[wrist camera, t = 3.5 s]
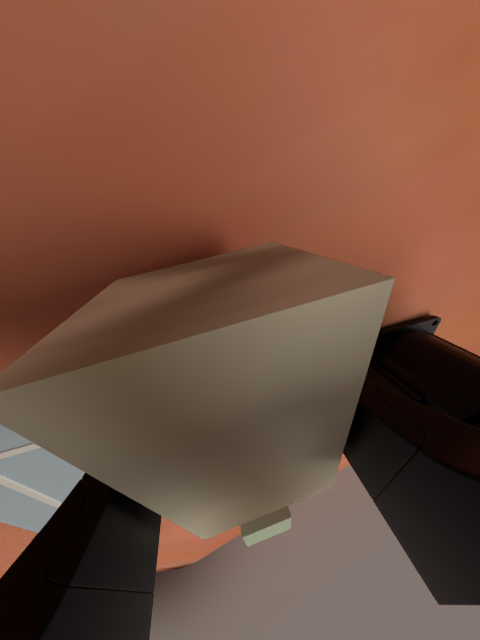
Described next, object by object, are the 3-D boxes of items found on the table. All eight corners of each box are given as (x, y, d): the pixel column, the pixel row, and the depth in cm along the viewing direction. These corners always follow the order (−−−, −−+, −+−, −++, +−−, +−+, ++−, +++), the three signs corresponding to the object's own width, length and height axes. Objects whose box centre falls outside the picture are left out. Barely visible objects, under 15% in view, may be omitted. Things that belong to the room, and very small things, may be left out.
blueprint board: (156, 353, 10) (153, 362, 10) (220, 479, 21) (221, 487, 20) (-202, 442, 8) (-233, 459, 7) (72, 532, 19) (68, 543, 18)
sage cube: (271, 458, 21) (291, 517, 17) (273, 474, 24) (290, 528, 20) (232, 472, 21) (242, 537, 16) (237, 487, 23) (247, 546, 19)
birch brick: (271, 241, 7) (395, 277, 3) (283, 394, 12) (332, 487, 8) (115, 280, 6) (-38, 402, 2) (199, 423, 12) (203, 540, 7)
